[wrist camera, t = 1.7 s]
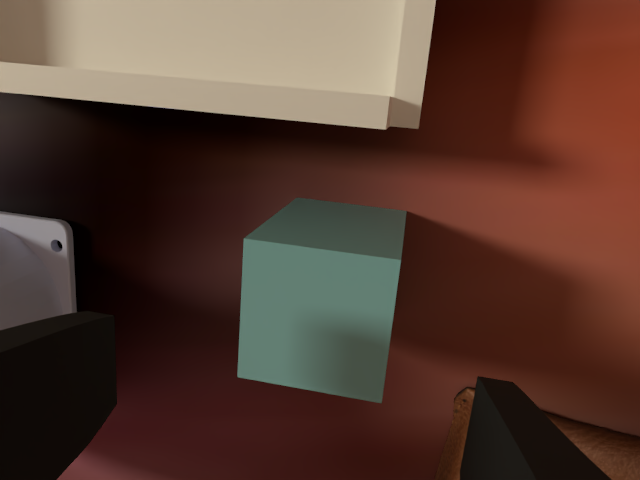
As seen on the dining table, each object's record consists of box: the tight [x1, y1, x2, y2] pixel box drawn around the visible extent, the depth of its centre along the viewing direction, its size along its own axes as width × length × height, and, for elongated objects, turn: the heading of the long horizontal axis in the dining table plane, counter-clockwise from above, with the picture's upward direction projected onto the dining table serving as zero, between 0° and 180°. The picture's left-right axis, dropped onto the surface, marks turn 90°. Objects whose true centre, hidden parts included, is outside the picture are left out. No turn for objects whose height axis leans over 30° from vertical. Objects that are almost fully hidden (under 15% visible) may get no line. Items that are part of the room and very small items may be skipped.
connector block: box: [237, 198, 407, 403], centre depth 16 cm, size 4×4×6 cm
